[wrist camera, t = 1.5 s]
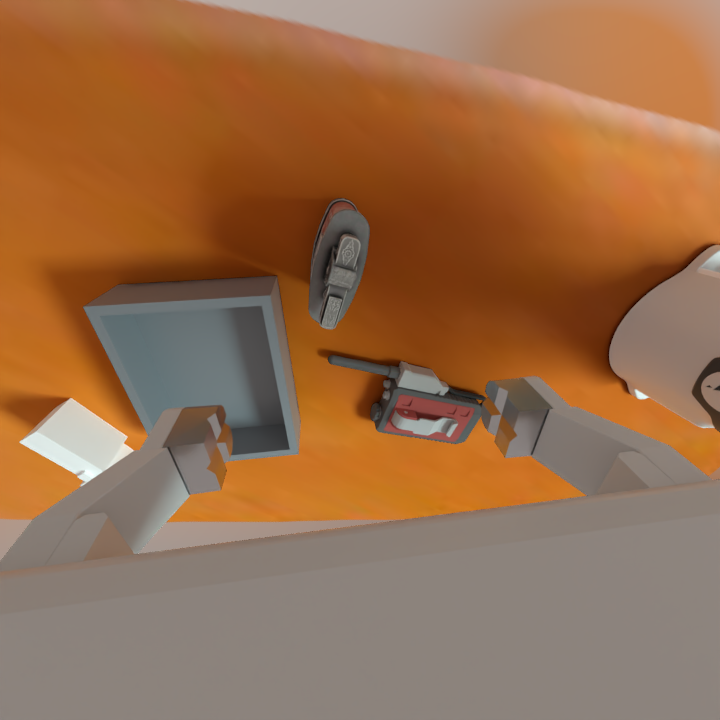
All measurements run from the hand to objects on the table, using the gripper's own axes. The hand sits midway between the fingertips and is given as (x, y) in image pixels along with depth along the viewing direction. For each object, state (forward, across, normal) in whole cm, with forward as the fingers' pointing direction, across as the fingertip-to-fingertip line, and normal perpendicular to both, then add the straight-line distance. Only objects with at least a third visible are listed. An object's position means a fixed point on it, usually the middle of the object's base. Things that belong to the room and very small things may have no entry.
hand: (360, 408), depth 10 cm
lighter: (+22, 0, 0) cm, 22 cm away
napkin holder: (+23, +27, +20) cm, 41 cm away
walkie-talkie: (+22, -8, +17) cm, 29 cm away
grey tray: (+22, +12, +11) cm, 27 cm away
